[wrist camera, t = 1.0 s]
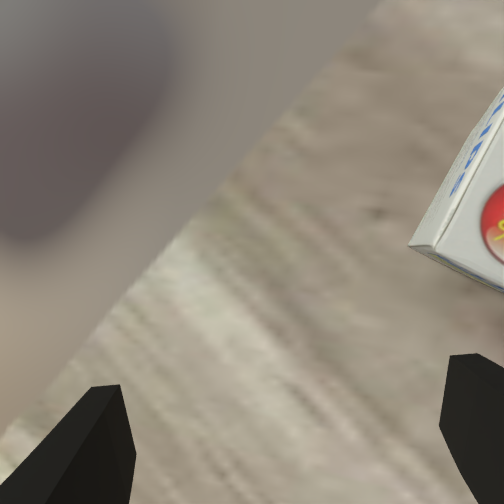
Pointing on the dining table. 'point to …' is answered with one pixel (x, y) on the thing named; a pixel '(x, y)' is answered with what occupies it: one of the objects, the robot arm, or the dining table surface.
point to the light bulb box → (471, 206)
